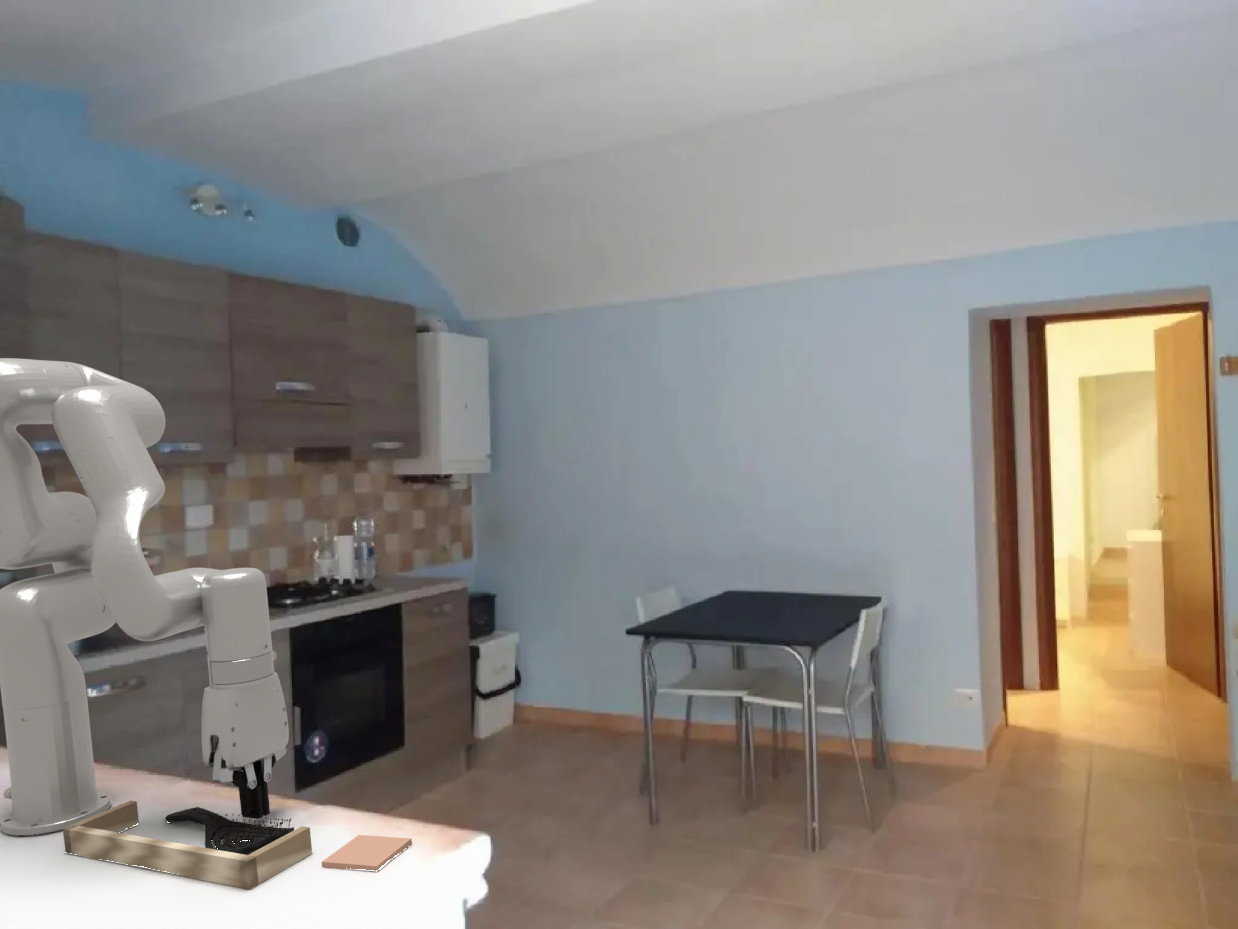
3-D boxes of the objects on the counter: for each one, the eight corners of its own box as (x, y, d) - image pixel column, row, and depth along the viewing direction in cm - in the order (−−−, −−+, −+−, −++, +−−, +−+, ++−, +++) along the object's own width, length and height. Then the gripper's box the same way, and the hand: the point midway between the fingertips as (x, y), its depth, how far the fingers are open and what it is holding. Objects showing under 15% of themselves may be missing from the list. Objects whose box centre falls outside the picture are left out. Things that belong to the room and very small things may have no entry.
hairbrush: (199, 787, 130) (309, 812, 115) (203, 815, 130) (313, 843, 115) (136, 810, 124) (243, 839, 108) (140, 839, 124) (248, 872, 108)
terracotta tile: (322, 872, 108) (321, 862, 108) (359, 845, 114) (358, 835, 114) (377, 877, 105) (376, 866, 105) (412, 849, 112) (411, 838, 112)
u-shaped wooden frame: (65, 853, 117) (62, 828, 117) (132, 823, 125) (130, 800, 125) (249, 889, 104) (247, 861, 103) (312, 853, 112) (309, 827, 111)
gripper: (265, 654, 130) (278, 791, 131) (169, 684, 117) (184, 837, 117) (308, 655, 127) (321, 796, 128) (214, 687, 113) (229, 844, 114)
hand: (255, 815), depth 123 cm, fingers closed
